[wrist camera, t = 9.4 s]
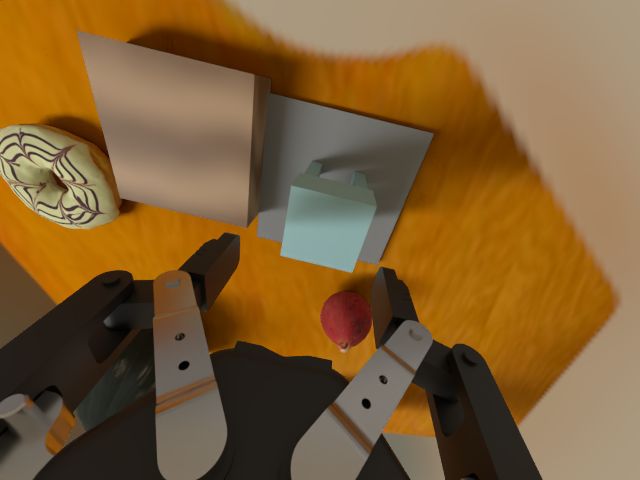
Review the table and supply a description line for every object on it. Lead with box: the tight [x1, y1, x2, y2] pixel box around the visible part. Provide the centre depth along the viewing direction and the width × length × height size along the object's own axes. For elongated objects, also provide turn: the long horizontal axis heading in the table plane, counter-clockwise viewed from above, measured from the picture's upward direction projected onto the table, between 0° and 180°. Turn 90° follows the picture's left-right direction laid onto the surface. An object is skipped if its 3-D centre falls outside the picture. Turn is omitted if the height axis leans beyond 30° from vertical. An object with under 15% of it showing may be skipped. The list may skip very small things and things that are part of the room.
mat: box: [257, 93, 434, 265], centre depth 23 cm, size 14×14×1 cm
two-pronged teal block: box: [280, 161, 377, 273], centre depth 19 cm, size 6×6×8 cm
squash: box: [75, 328, 156, 432], centre depth 33 cm, size 14×15×15 cm
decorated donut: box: [0, 124, 122, 229], centre depth 24 cm, size 10×11×4 cm
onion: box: [320, 291, 372, 353], centre depth 27 cm, size 6×6×8 cm
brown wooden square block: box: [76, 30, 271, 228], centre depth 20 cm, size 12×12×4 cm
